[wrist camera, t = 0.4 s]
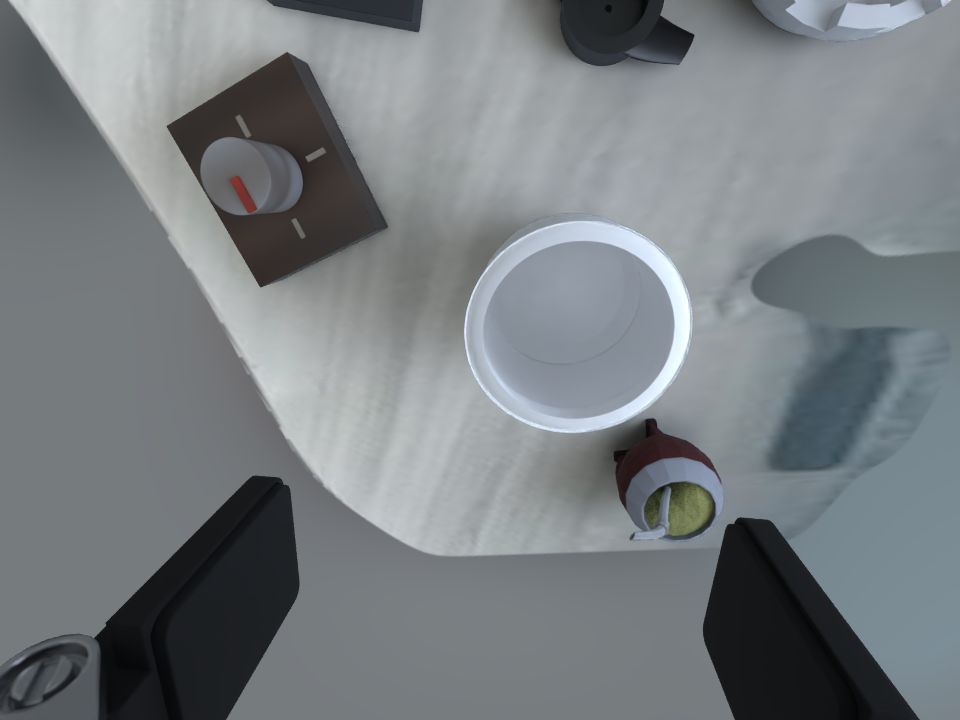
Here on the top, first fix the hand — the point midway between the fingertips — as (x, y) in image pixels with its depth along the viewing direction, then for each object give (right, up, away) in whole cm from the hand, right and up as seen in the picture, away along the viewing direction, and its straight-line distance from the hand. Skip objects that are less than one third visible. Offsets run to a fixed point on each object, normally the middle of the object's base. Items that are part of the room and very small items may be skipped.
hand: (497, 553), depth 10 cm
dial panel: (-14, +18, +26) cm, 34 cm away
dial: (-15, +17, +23) cm, 32 cm away
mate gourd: (+13, -3, +30) cm, 33 cm away
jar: (+6, +10, +27) cm, 29 cm away
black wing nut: (+8, +26, +21) cm, 34 cm away
